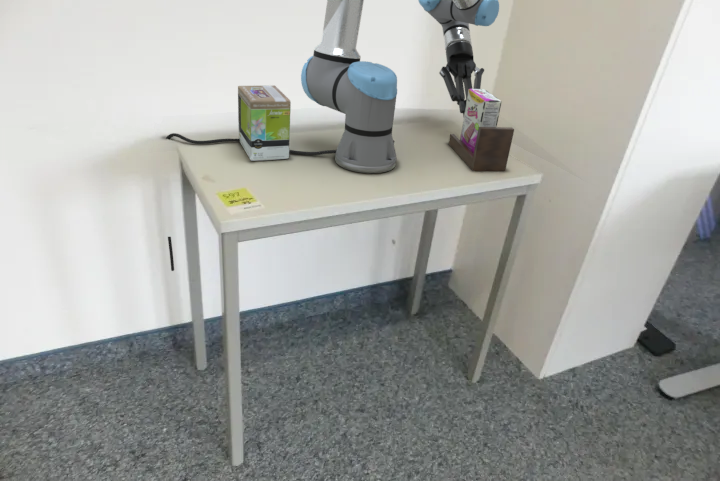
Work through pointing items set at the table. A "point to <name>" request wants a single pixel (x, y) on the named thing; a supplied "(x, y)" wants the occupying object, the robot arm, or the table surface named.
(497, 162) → the book rack
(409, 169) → the table surface
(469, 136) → the candy bar box
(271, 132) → the tea box
